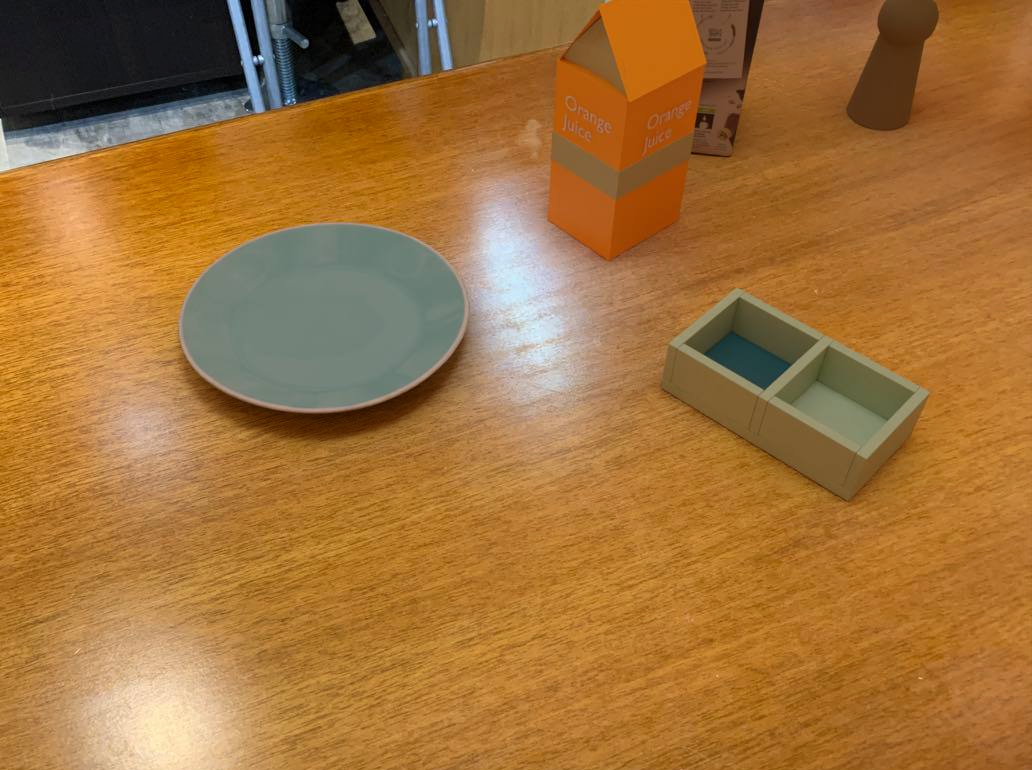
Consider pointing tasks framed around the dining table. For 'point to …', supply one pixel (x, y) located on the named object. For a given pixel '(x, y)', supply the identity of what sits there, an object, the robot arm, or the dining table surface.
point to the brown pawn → (893, 64)
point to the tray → (793, 391)
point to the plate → (323, 317)
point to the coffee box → (723, 69)
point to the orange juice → (625, 123)
